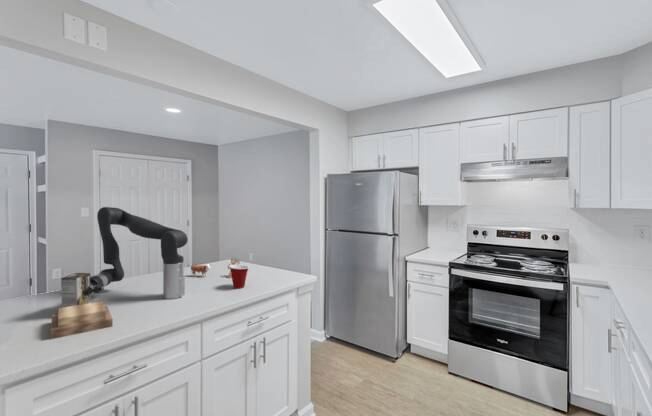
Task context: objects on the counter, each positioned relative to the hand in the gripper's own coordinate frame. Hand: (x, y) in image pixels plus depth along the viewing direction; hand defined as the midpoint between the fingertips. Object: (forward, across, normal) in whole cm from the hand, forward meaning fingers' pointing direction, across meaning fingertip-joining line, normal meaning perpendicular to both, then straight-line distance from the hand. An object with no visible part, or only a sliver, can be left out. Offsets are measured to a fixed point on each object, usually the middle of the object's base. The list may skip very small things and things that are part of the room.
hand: (73, 293), depth 135 cm
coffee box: (-2, 0, +9) cm, 9 cm away
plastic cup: (-33, +65, +9) cm, 73 cm away
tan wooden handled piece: (-58, +59, +9) cm, 83 cm away
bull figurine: (-60, +39, +9) cm, 72 cm away
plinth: (+13, +10, +8) cm, 19 cm away
